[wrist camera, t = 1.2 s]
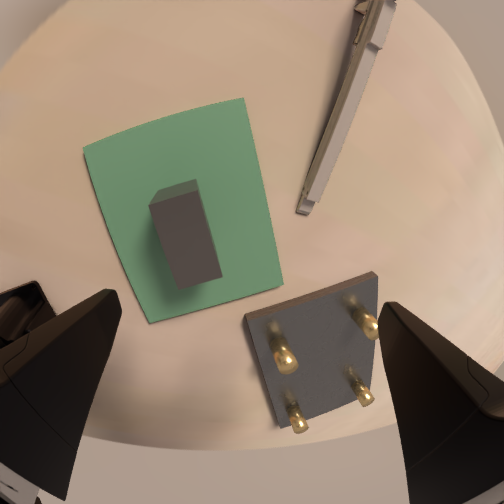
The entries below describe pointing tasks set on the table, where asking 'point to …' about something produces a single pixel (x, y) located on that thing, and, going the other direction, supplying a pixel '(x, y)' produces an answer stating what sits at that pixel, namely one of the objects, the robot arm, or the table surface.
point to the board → (223, 197)
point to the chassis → (318, 349)
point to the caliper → (348, 97)
